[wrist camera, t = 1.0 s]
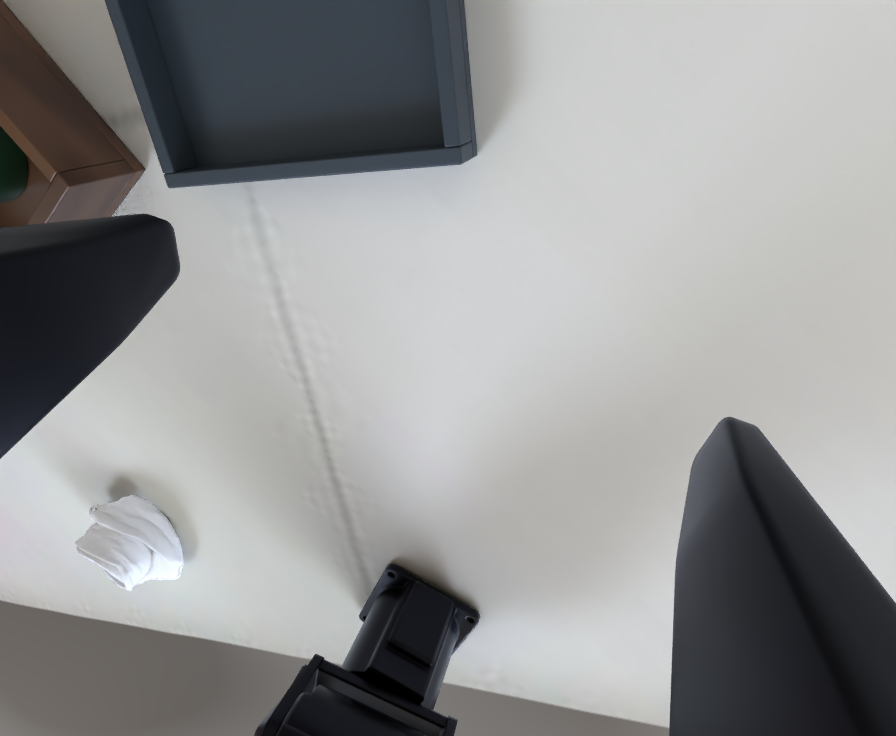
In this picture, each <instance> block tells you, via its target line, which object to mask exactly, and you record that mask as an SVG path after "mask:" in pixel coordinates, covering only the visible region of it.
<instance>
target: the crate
mask: <svg viewBox="0 0 896 736" xmlns="http://www.w3.org/2000/svg"><path fill="white" fill-rule="evenodd" d="M0 126H1V127H2V128H3V129H4V131H5V132H6V133H7V134H8V135H9V136H10V137H11V138H12V139H13V141H14V142H15V143H16V144H17V145H18V146H19V147H20V148H21V149H22V151H23V152H24V153H25V154H26V158H27V165H28V178H27V183H26V187H25V189H24V191H23V192H22V193H21V195H20V196H19V197H17V198H16V199H14V200H12V201H8V202H4V203H0V227H10V226H21V225H31V224H41V223H52V222H62V221H73V220H83V219H93V218H104V217H111V216H112V214H113V213H114V212H115V210H116V209H117V208H118V206H119V205H120V203H121V202H122V201H123V199H124V198H125V197H126V195H127V194H128V193H129V191H130V190H131V188H132V187H133V186H134V184H135V183H136V182H137V180H138V179H139V178H140V176H141V175H142V173H143V172H144V171H145V169H144V168H143V167H142V166H141V164H140V163H139V162H138V161H137V160H136V158H135V157H134V156H133V155H132V154H131V153H130V151H129V150H128V149H127V148H126V147H125V145H124V144H123V143H122V142H121V141H120V140H119V138H118V137H117V136H116V135H115V134H114V133H113V131H112V130H111V129H110V128H109V127H108V125H107V124H106V123H105V122H104V121H103V120H102V118H101V117H100V116H99V115H98V114H97V112H96V111H95V110H94V109H93V108H92V107H91V105H90V104H89V103H88V102H87V101H86V99H85V98H84V97H83V96H82V95H81V94H80V92H79V91H78V90H77V89H76V88H75V86H74V85H73V84H72V83H71V82H70V81H69V79H68V78H67V77H66V76H65V75H64V74H63V72H62V71H61V70H60V69H59V68H58V66H57V65H56V64H55V63H54V62H53V61H52V59H51V58H50V57H49V56H48V55H47V53H46V52H45V51H44V50H43V49H42V48H41V46H40V45H39V44H38V43H37V42H36V40H35V39H34V38H33V37H32V36H31V35H30V33H29V32H28V31H27V30H26V29H25V28H24V26H23V25H22V24H21V23H20V22H19V20H18V19H17V18H16V17H15V16H14V15H13V13H12V12H11V11H10V10H9V9H8V7H7V6H6V5H5V4H4V3H3V2H2V0H0Z"/></svg>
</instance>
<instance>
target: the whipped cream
mask: <svg viewBox="0 0 896 736" xmlns="http://www.w3.org/2000/svg"><path fill="white" fill-rule="evenodd" d="M93 507H94V505H93V506H92V507H91V508H90V510H89V516H90V517H91V518H92V519H93V520H94V521H95V522H96V523H95V524H93V525H91V526H90V528H89V529H88V530H87V532H86V533H85V535H83V536H82V537H81V538H80V539H78V540H77V541H76V542H75V543H76V545H77V551H78V553H79V554H80V555H82V556H84V557H85V558H87V559H89V560H90V561H92V562H94V563H96V564H97V565H99V566H101V568H102V569H103V571H104V572H105V573H106V575H107V576H108V577H109V578H110V579H111V580H112V581H113V582H114V583H115V584H116V585H117V586H119V587H121V588H124V589H126V590H128V591H131V590H132V588H133V586H134V585H135V584H141V583H143V582H145V581H146V580H149V579H156V580H163V579H168V580H174V579H177V578H179V577H180V574H181V572H182V567H183V565H184V559H183V553H182V548H181V544H180V540H179V537H178V535H177V533H176V532H175V530H174V528H173V527H172V525H171V523H170V522H169V520H168V519H167V518H166V517H165V516H164V515H163V514H161V513H160V512H159V511H158V509H157V508H156V507H155V506H154V505H153V504H151V503H149V502H148V501H146V500H145V499H142V498H140V497H138V496H135V495H132V494H131V496H129V497H122V498H120V499H119V500H118V501H116V502H109V503H108V504H106V505H103V506H100V507H99V505H98V506H97V508H95V511H93V510H92V508H93Z"/></svg>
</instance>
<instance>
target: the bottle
mask: <svg viewBox="0 0 896 736" xmlns="http://www.w3.org/2000/svg"><path fill="white" fill-rule="evenodd" d="M27 178H28V165H27V158H26V154H25V153H24V152H23V151H22V149H21V148H20V147H19V146H18V145H17V144H16V143H15V142H14V141H13V139H12V138H11V137H10V136H9V135H8V134H7V133H6V132H5V131H4V129H3V128H2V127H1V126H0V203H4V202H8V201H12V200H14V199H16V198H17V197H19V196H20V195H21V193H22V192H23V191H24V189H25V187H26V183H27Z"/></svg>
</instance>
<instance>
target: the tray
mask: <svg viewBox="0 0 896 736" xmlns="http://www.w3.org/2000/svg"><path fill="white" fill-rule="evenodd" d="M105 3H106V6H107V9H108V12H109V15H110V18H111V20H112V23H113V26H114V29H115V32H116V35H117V38H118V41H119V44H120V47H121V50H122V53H123V56H124V59H125V62H126V65H127V68H128V71H129V73H130V76H131V79H132V82H133V85H134V88H135V91H136V94H137V97H138V100H139V103H140V106H141V109H142V112H143V115H144V118H145V121H146V124H147V126H148V129H149V132H150V135H151V138H152V141H153V144H154V147H155V150H156V153H157V156H158V159H159V162H160V165H161V168H162V171H163V173H165V174H164V177H165V179H166V182H167V185H168V187H169V188H179V187H191V186H204V185H216V184H228V183H240V182H252V181H265V180H277V179H289V178H301V177H314V176H326V175H338V174H350V173H362V172H375V171H387V170H399V169H411V168H424V167H436V166H448V165H460V164H462V163H464V162H466V161H468V160H470V159H471V158H473V157H475V156H477V146H476V134H475V123H474V112H473V100H472V89H471V77H470V66H469V54H468V43H467V32H466V20H465V9H464V0H105Z"/></svg>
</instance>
